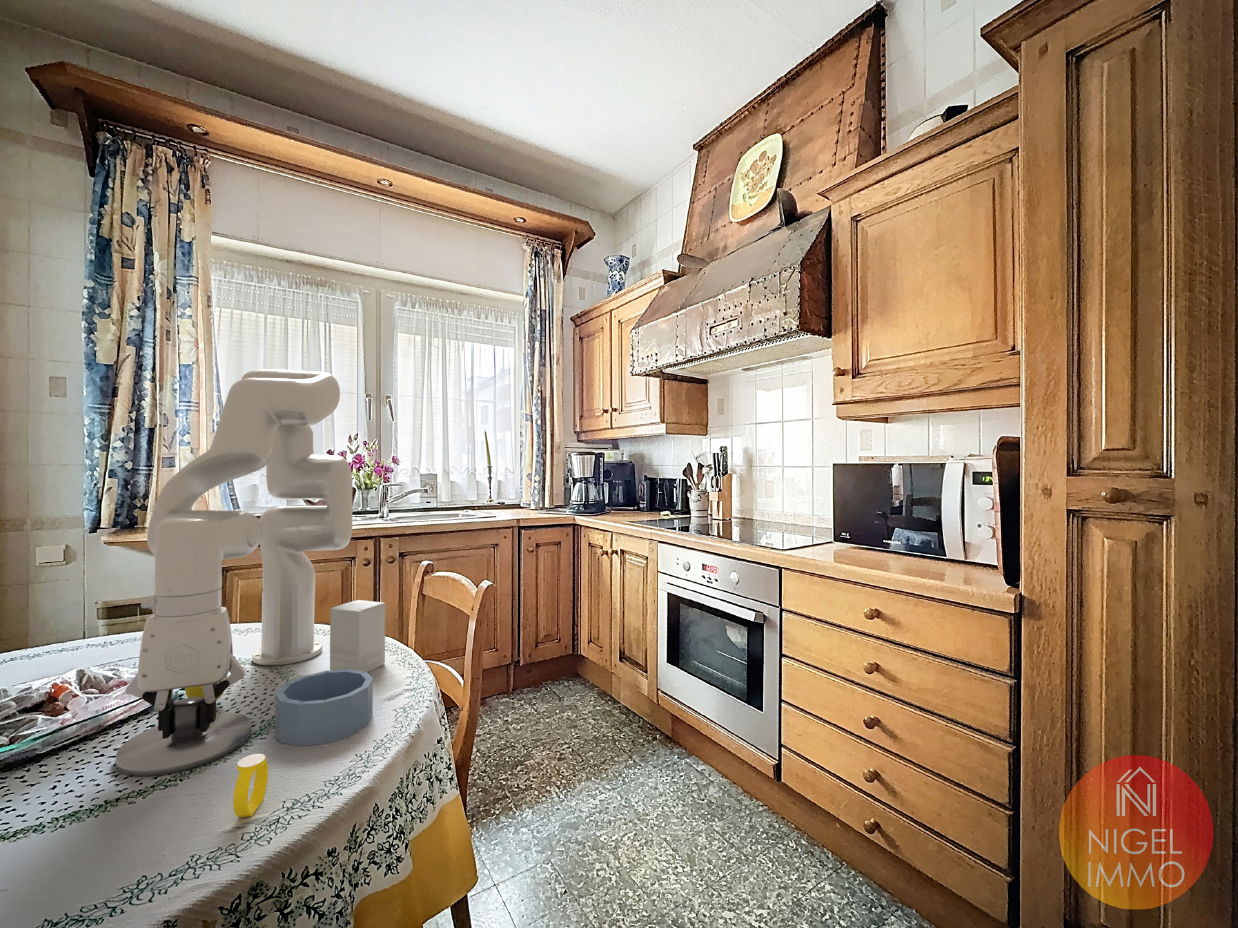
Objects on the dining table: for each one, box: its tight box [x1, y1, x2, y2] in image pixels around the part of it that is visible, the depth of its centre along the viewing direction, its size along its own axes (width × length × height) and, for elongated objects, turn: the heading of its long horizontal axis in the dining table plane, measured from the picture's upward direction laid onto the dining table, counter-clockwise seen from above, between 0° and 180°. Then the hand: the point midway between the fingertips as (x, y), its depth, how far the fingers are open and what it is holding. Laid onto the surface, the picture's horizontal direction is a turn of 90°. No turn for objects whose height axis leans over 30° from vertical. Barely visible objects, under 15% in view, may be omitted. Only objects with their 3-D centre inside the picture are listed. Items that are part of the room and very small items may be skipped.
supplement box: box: [329, 599, 386, 673], centre depth 108 cm, size 7×7×13 cm
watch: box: [232, 753, 269, 818], centre depth 64 cm, size 6×3×6 cm, turn 13°
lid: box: [115, 697, 252, 777], centre depth 77 cm, size 15×15×6 cm
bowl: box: [274, 669, 374, 747], centre depth 84 cm, size 13×13×6 cm
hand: (187, 729), depth 77 cm, fingers closed on lid, 3 cm apart
